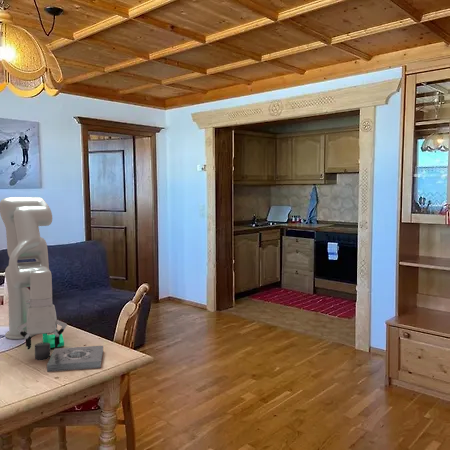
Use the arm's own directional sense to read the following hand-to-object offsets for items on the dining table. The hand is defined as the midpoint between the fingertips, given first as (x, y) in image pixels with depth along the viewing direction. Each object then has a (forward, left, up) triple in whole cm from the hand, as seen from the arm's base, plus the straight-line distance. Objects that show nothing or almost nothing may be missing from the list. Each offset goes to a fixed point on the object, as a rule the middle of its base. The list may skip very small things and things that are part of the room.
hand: (43, 347), depth 167 cm
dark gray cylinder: (-1, 0, -4) cm, 4 cm away
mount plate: (+5, +13, -4) cm, 14 cm away
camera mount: (-15, +1, -5) cm, 15 cm away
